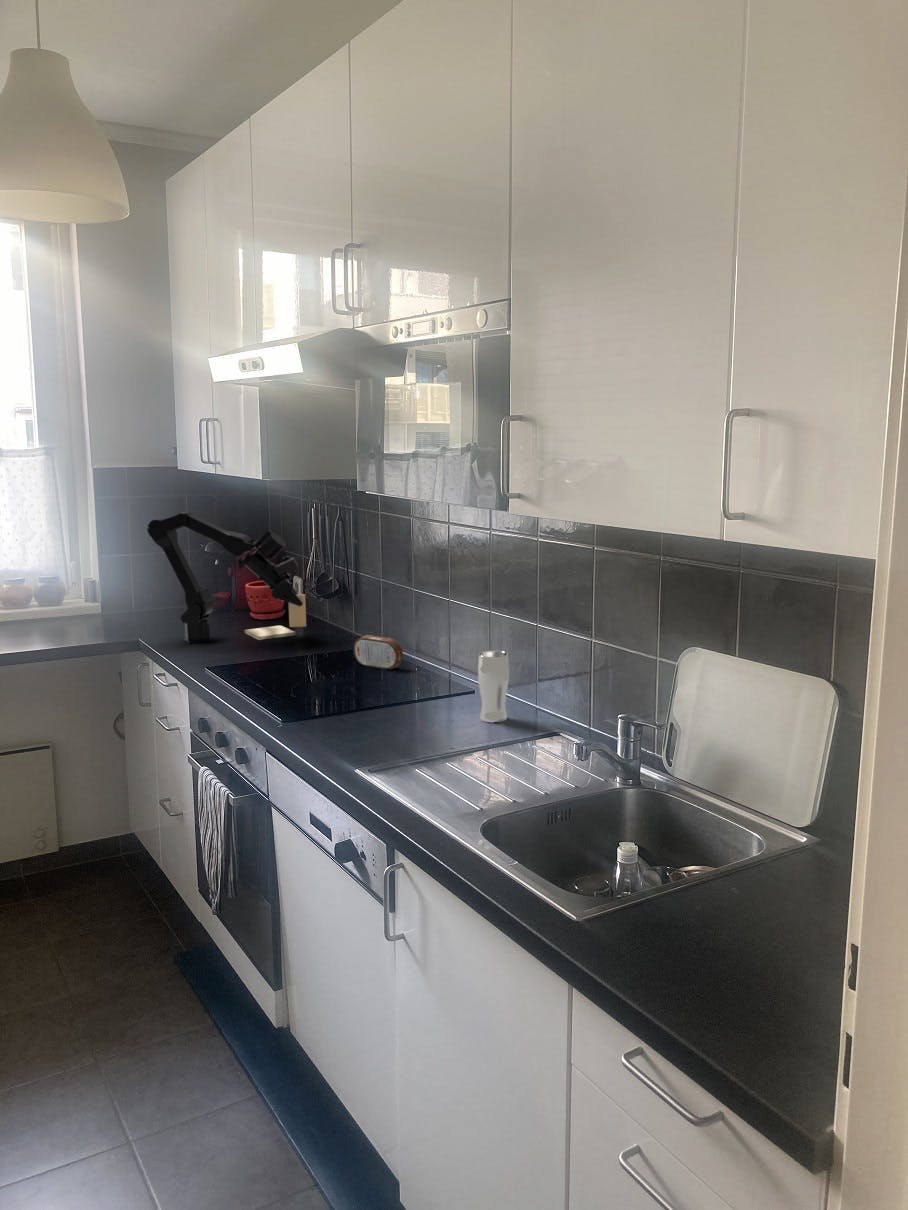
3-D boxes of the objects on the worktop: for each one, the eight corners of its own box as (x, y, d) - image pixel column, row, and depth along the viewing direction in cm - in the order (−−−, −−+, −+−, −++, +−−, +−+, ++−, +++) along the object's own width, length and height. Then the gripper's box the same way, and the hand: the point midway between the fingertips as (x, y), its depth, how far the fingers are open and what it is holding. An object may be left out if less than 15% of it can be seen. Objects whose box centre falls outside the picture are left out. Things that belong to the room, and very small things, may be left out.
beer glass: (483, 724, 218) (482, 658, 215) (474, 715, 224) (473, 651, 222) (513, 722, 220) (513, 656, 217) (503, 713, 226) (503, 649, 223)
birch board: (258, 640, 303) (258, 636, 303) (244, 633, 313) (244, 629, 313) (295, 635, 309) (295, 632, 309) (280, 628, 319) (280, 625, 319)
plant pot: (277, 612, 346) (275, 578, 344) (292, 618, 335) (290, 583, 333) (241, 616, 340) (239, 581, 337) (255, 622, 329) (253, 587, 326)
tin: (404, 669, 266) (403, 638, 265) (397, 672, 264) (396, 641, 262) (359, 662, 274) (358, 633, 273) (352, 665, 272) (351, 635, 270)
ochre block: (289, 627, 298) (288, 597, 296) (289, 623, 303) (288, 594, 301) (306, 626, 299) (305, 597, 297) (305, 623, 304) (304, 594, 302)
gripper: (281, 553, 287) (321, 589, 291) (281, 545, 305) (318, 579, 309) (255, 581, 287) (295, 616, 291) (256, 571, 305) (294, 605, 309)
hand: (301, 603), depth 300 cm, fingers closed on ochre block, 5 cm apart
